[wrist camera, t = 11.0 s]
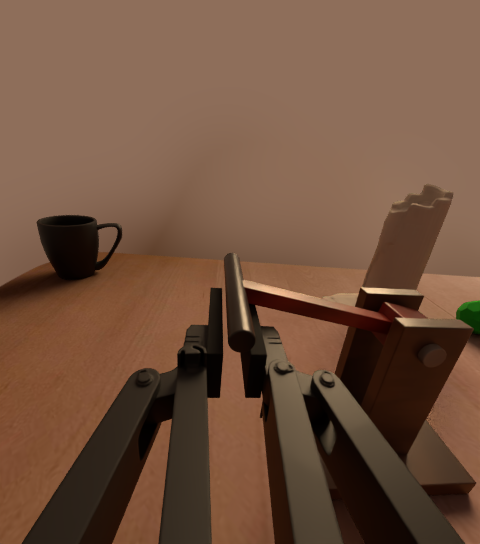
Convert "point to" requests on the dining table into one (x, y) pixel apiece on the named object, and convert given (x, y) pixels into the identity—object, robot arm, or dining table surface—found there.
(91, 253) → the mug
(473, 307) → the polyhedron
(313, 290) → the dining table surface
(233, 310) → the red lever
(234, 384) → the dining table surface
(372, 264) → the candle
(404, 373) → the rod stand
